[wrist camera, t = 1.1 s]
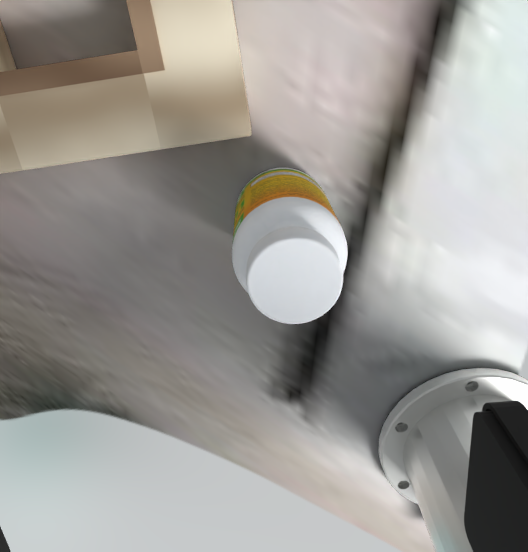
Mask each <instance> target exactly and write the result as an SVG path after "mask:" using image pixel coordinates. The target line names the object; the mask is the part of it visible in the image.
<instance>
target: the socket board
mask: <svg viewBox="0 0 528 552" xmlns="http://www.w3.org/2000/svg"><path fill="white" fill-rule="evenodd" d="M126 2H127V6H128V11H129V15H130V20H131V24H132V28H133V33H134V37H135V41H136V46H137V50H134V51H128V52H122V53H116V54H109V55H103V56H97V57H91V58H85V59H78V60H72V61H66V62H60V63H53V64H47V65H41V66H35V67H28V68H22V69H16V66H15V63H14V60H13V57H12V54H11V51H10V48H9V44H8V41H7V38H6V35H5V32H4V29H3V26H2V23H1V20H0V174H3V173H10V172H16V171H23V170H30V169H36V168H43V167H49V166H56V165H62V164H69V163H76V162H82V161H89V160H95V159H102V158H108V157H115V156H122V155H128V154H135V153H141V152H148V151H155V150H161V149H168V148H174V147H181V146H187V145H194V144H201V143H207V142H214V141H220V140H227V139H233V138H240V137H247V136H251V121H250V114H249V107H248V101H247V94H246V87H245V81H244V74H243V67H242V61H241V54H240V47H239V41H238V34H237V27H236V21H235V14H234V7H233V1H232V0H126Z"/></svg>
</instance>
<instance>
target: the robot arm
mask: <svg viewBox="0 0 528 552" xmlns="http://www.w3.org/2000/svg"><path fill="white" fill-rule="evenodd" d="M378 452H379V457H380V462H381V465H382V468H383V471H384V473H385V476H386V478H387V480H388V481H389V483H390V484H391V486H392V487H393V488H394V489H395V490H396V491H397V492H398V493H399V494H400V495H402V496H403V497H405V498H406V499H408V500H410V501H411V502H413V503H416V504H418V505H419V508H420V510H421V513H422V516H423V519H424V521H425V524H426V527H427V529H428V532H429V535H430V538H431V540H432V543H433V546H434V548H435V551H436V552H528V380H527V379H525V378H523V377H521V376H519V375H517V374H515V373H512V372H508V371H504V370H500V369H492V368H472V369H462V370H458V371H454V372H450V373H446V374H443V375H441V376H438V377H436V378H433V379H431V380H428V381H427V382H425V383H423V384H422V385H420V386H418V387H417V388H415V389H413V390H412V391H411V392H410V393H409V394H407V395H406V396H405V397H404V398H403V399H401V400H400V401H399V403H398V404H397V405H396V406H395V407H394V408H393V410H392V411H391V412H390V414H389V415H388V417H387V419H386V421H385V423H384V424H383V427H382V430H381V433H380V437H379V448H378ZM0 552H10V549H9V546H8V544H7V542H6V539H5V537H4V534H3V532H2V530H1V527H0Z"/></svg>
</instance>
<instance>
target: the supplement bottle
mask: <svg viewBox="0 0 528 552" xmlns="http://www.w3.org/2000/svg"><path fill="white" fill-rule="evenodd" d="M347 254H348V251H347V242H346V238H345V235H344V232H343V229H342V227H341V225H340V223H339V221H338V219H337V217H336V215H335V213H334V211H333V209H332V207H331V205H330V203H329V201H328V199H327V197H326V195H325V193H324V192H323V190H322V189H321V187H320V186H319V184H318V183H317V182H316V181H315V180H314V179H313V178H311V177H310V176H309V175H307V174H306V173H304V172H302V171H299V170H296V169H292V168H274V169H270V170H266V171H264V172H262V173H260V174H258V175H257V176H255V177H254V178H252V179H251V180H250V181H249V182H248V183H247V184H246V185H245V187H244V188H243V190H242V191H241V193H240V195H239V198H238V201H237V204H236V210H235V221H234V233H233V243H232V263H233V268H234V272H235V274H236V277H237V279H238V281H239V283H240V284H241V285H242V287H243V288H244V289H245V290H246V291H247V292H248V293H249V297H250V299H251V301H252V302H253V304H254V305H255V307H256V308H257V309H258V310H259V311H260V312H261V313H262V314H264V315H265V316H267V317H268V318H270V319H272V320H275V321H278V322H281V323H286V324H301V323H306V322H309V321H312V320H315V319H317V318H319V317H320V316H322V315H323V314H325V313H326V312H327V311H329V310H330V309H331V307H332V306H333V305H334V304H335V302H336V301H337V299H338V297H339V295H340V293H341V290H342V286H343V273H344V270H345V267H346V263H347Z"/></svg>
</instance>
